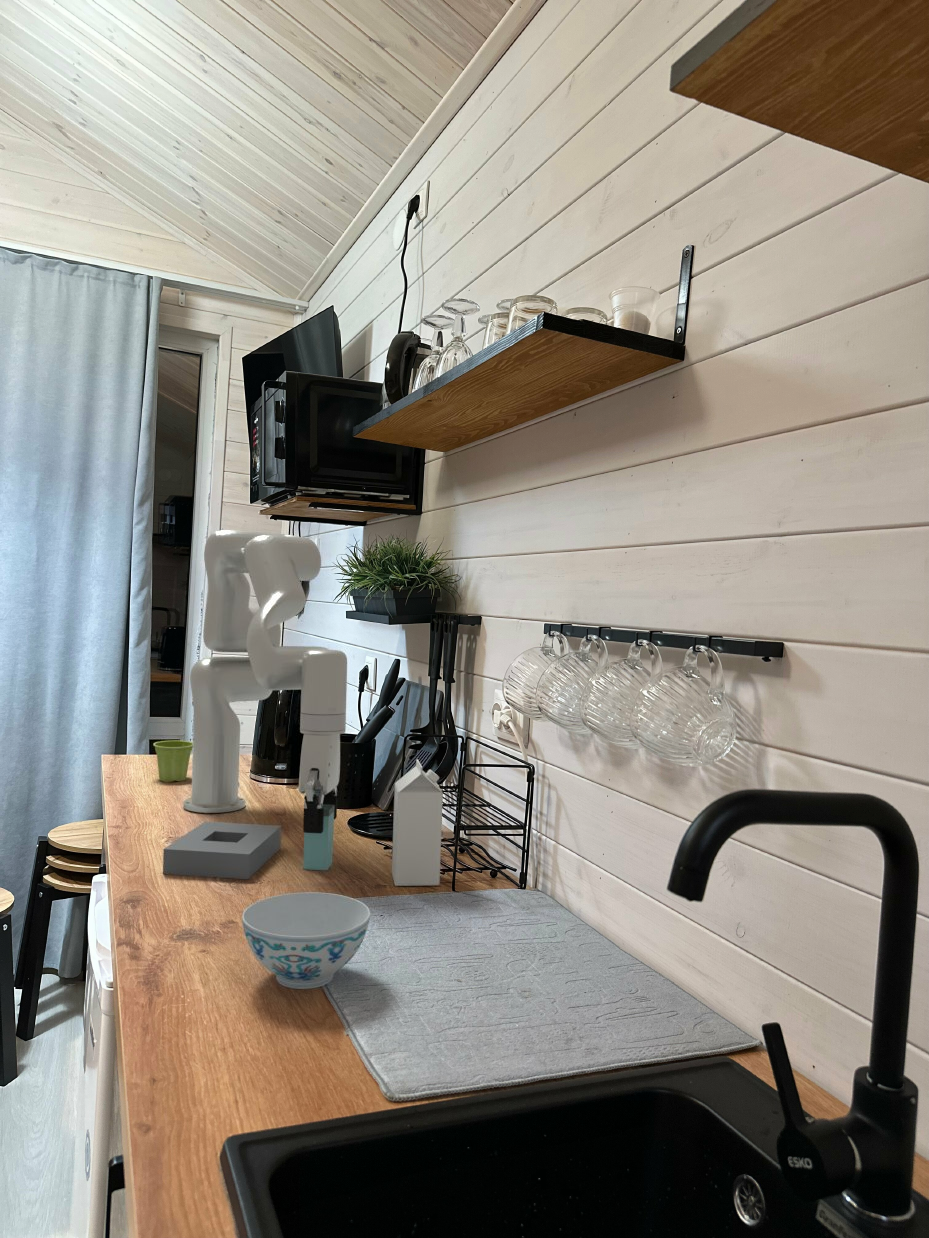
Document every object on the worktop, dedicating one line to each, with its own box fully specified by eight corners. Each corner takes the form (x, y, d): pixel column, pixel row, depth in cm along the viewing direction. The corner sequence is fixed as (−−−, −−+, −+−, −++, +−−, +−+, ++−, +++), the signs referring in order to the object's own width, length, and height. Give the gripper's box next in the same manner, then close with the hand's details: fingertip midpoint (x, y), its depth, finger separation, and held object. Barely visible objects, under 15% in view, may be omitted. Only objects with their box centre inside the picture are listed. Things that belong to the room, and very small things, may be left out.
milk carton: (394, 887, 141) (399, 767, 140) (391, 873, 148) (395, 758, 147) (439, 886, 142) (444, 767, 141) (434, 872, 149) (438, 759, 148)
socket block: (204, 843, 161) (205, 821, 161) (280, 848, 160) (281, 825, 160) (162, 873, 143) (163, 848, 143) (248, 879, 142) (249, 854, 142)
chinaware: (287, 944, 116) (289, 885, 116) (389, 966, 110) (392, 904, 110) (213, 988, 102) (215, 922, 102) (326, 1016, 97) (328, 946, 96)
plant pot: (200, 777, 217) (202, 742, 217) (180, 785, 208) (181, 748, 208) (166, 774, 219) (167, 739, 219) (144, 781, 210) (145, 745, 210)
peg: (308, 861, 152) (310, 803, 152) (332, 863, 152) (334, 804, 152) (302, 868, 148) (304, 809, 148) (327, 870, 148) (329, 810, 148)
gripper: (313, 716, 158) (311, 813, 158) (286, 729, 141) (284, 837, 141) (355, 718, 158) (352, 814, 158) (333, 731, 140) (330, 839, 141)
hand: (320, 825), depth 149 cm, fingers open, 9 cm apart
